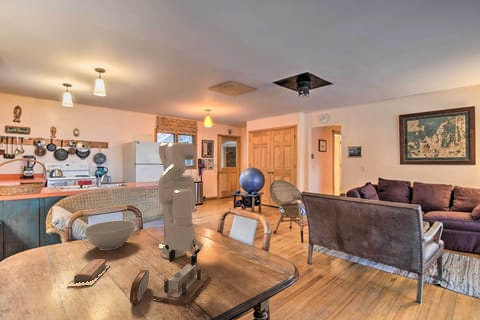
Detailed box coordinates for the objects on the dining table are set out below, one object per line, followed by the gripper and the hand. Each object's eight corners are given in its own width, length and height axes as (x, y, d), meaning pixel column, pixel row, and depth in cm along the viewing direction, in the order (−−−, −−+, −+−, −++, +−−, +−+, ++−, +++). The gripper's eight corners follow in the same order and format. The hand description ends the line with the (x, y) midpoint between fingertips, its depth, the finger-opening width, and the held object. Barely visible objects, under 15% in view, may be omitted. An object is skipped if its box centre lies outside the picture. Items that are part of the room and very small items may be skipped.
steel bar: (168, 293, 91) (168, 279, 91) (187, 275, 105) (187, 264, 105) (178, 294, 90) (177, 281, 90) (196, 277, 104) (196, 265, 103)
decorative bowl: (132, 236, 163) (132, 218, 163) (139, 249, 140) (139, 228, 140) (84, 244, 149) (84, 224, 149) (83, 259, 126) (83, 236, 126)
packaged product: (88, 258, 117) (110, 257, 118) (88, 268, 117) (110, 267, 118) (66, 276, 99) (92, 275, 100) (66, 288, 99) (92, 287, 100)
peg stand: (152, 299, 90) (152, 284, 90) (181, 274, 109) (181, 262, 109) (186, 306, 86) (186, 290, 86) (210, 278, 105) (209, 266, 105)
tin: (142, 286, 100) (142, 265, 100) (150, 285, 100) (150, 265, 100) (128, 309, 85) (128, 284, 85) (138, 308, 85) (137, 284, 85)
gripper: (158, 221, 96) (158, 263, 97) (197, 225, 91) (198, 270, 92) (169, 216, 104) (169, 256, 104) (206, 219, 99) (206, 261, 99)
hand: (182, 262), depth 98 cm, fingers open, 9 cm apart
